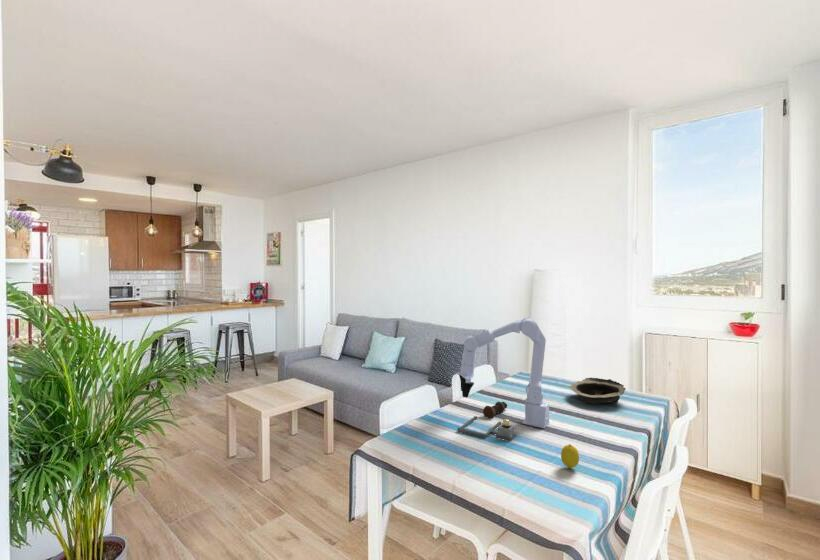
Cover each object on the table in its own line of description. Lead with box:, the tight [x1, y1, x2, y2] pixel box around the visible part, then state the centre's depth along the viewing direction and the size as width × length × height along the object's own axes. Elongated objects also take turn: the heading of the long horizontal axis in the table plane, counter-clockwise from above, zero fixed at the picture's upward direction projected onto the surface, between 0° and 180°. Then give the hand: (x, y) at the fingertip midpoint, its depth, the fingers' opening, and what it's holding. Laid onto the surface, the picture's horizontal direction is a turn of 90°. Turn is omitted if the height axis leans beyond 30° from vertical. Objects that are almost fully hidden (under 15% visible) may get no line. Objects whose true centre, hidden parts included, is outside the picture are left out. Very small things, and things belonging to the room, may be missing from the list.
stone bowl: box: [569, 377, 626, 405], centre depth 197 cm, size 25×25×9 cm
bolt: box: [482, 401, 508, 419], centre depth 181 cm, size 6×5×15 cm
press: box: [456, 415, 517, 442], centre depth 162 cm, size 21×17×4 cm
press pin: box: [502, 418, 510, 428], centre depth 156 cm, size 2×2×3 cm
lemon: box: [560, 443, 580, 470], centre depth 132 cm, size 6×6×8 cm
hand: (464, 393), depth 177 cm, fingers open, 7 cm apart
